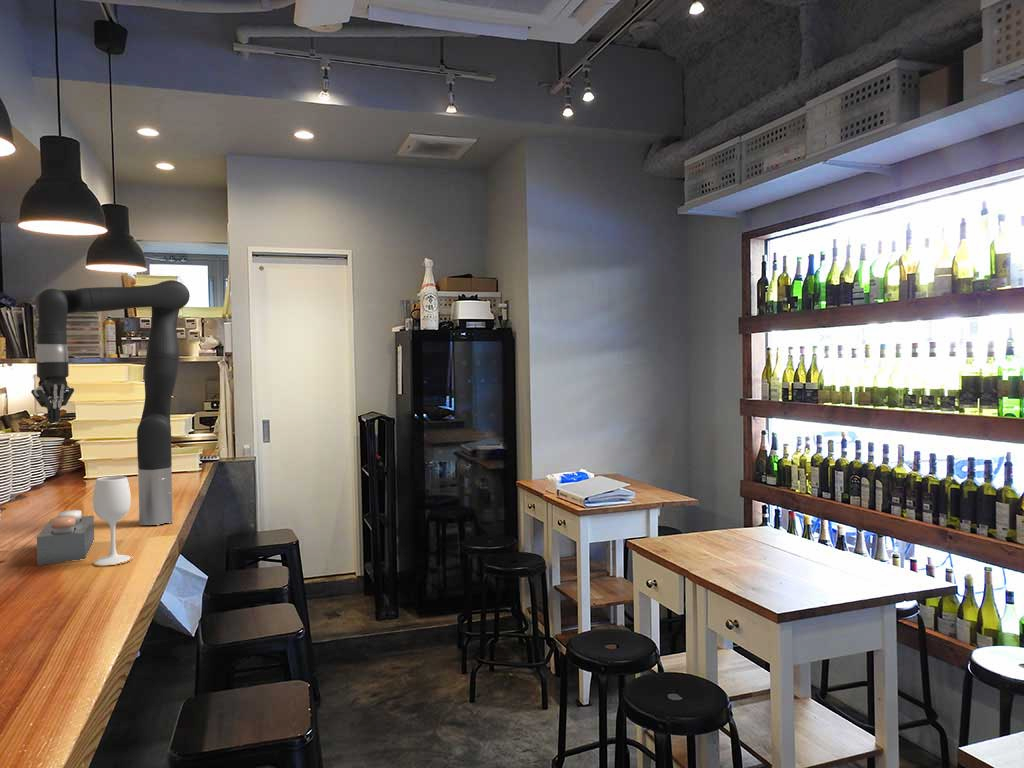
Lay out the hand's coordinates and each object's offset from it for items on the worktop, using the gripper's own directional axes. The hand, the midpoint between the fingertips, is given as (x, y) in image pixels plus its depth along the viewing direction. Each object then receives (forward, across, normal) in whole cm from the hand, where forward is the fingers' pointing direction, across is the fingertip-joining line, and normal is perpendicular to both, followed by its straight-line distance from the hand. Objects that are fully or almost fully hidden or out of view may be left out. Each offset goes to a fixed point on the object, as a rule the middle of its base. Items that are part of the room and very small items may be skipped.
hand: (53, 421), depth 198 cm
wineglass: (+33, +19, +33) cm, 51 cm away
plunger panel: (+33, +13, +15) cm, 38 cm away
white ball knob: (+31, +8, +12) cm, 34 cm away
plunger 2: (+30, +18, +18) cm, 39 cm away
